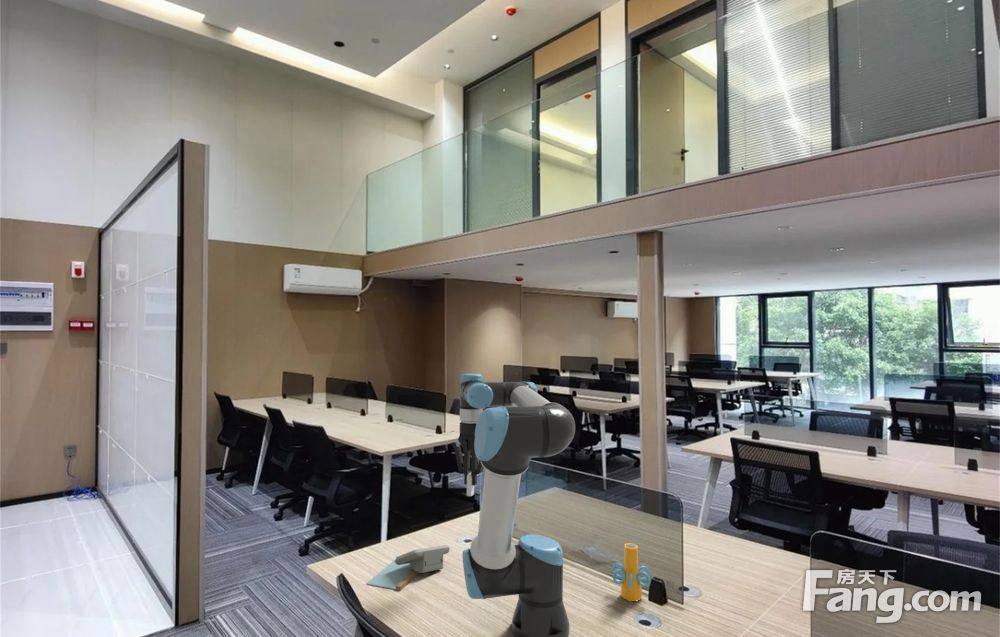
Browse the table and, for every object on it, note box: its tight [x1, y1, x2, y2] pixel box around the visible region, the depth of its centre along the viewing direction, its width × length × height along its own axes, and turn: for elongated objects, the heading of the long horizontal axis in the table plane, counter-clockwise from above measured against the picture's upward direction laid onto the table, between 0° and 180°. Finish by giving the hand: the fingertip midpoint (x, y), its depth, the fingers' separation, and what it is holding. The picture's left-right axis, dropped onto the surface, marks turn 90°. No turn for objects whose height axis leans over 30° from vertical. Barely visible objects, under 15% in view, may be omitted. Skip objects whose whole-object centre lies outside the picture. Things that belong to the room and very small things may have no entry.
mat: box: [366, 559, 420, 591], centre depth 159 cm, size 12×18×1 cm, turn 162°
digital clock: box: [394, 544, 451, 574], centre depth 163 cm, size 16×9×11 cm
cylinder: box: [612, 542, 652, 602], centre depth 146 cm, size 12×10×15 cm
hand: (470, 494), depth 158 cm, fingers closed
